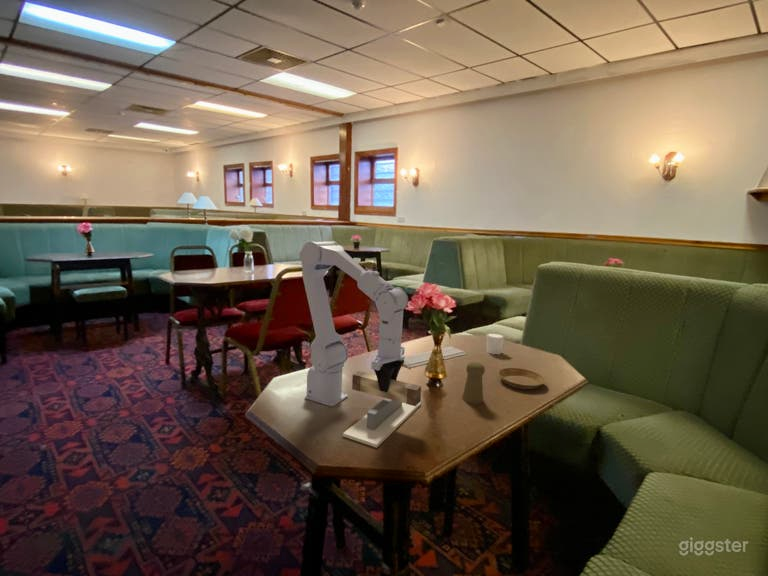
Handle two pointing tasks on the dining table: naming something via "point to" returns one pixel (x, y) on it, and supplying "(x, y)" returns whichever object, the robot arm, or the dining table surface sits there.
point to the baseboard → (423, 357)
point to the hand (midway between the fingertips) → (386, 388)
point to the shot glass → (494, 343)
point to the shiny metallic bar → (396, 390)
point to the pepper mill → (474, 383)
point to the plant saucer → (520, 372)
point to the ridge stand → (380, 422)
